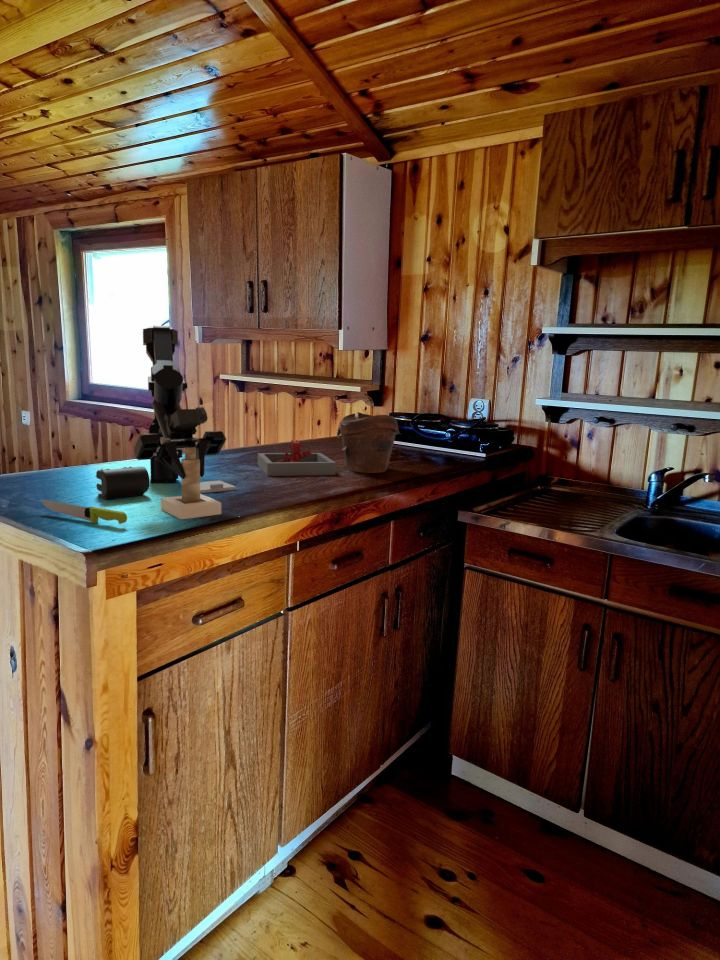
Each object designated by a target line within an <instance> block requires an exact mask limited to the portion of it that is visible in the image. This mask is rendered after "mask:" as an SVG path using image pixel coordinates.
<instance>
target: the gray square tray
mask: <svg viewBox="0 0 720 960" xmlns="http://www.w3.org/2000/svg"><path fill="white" fill-rule="evenodd" d="M311 453H312V454H310V455H308V456H306V457H303V458H301V459H300V460H301V461H302V462H277V461H279V460H284V459H285V453H284V452H283V453H282V452H274V453H273V452H266V453H265V452H264V453H263V452H257V466H258V467H259V468H260V470H262V472H263V473H264V474H265V475H266V476H267V477H275V476H276V477H278V476H280V477H284V476H285V477H286V476H287V477H288V476H289V477H291V476H293V477H294V476H336V471H337V462H335V461H334V460H333V459H331V458H329V457H328V456H326V455H324V454H323V453H321V452H311ZM287 456H288V458H289V457H291V452H288V455H287Z"/></svg>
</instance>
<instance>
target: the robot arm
mask: <svg viewBox="0 0 720 960" xmlns="http://www.w3.org/2000/svg"><path fill="white" fill-rule="evenodd" d="M142 345H143V346H145V353H146V355H147V357H148V358H149V360H150V361H151V363H152V366H151V367H150V376H148V377H147V390H148V393H151V397H152V398H153V400H152V404H151V405H152V409H153V415H154V417H153V421H152V422H151V424H150V425H149V427H148V433H140V434H139V436H138V437H137V440H136V442H135V446H134V449H133V452H134V456H135V459H136V460H138V461H143V460H150V463H149V464H150V465H149V467H150V476H149V480H150V484H151V483H152V484H155V483H158V484H159V483H177V481H178V479H179V478H180V479H181V478H182V479H184V478H185V472H184V469H183V466H182V464H181V458H183V450H185V448H186V447H195V448H196V459H200V478H204V475H205V457H206V456H216V455H218V454H220V452H221V450H222V449H223V447H224V444H225V443H226V441H227V437H226V435H225V433H224V432H223V431H222V430H208V431H206V430H205V432H204V434H203V436H202V437H200V438H199V437H194V436H193V435H196V434H197V431H198V430H197V427H198V426H201V425H203V424H205V423H206V422H207V421H208V419H209V418H208V414H207V411H206V409H205V407H201V406H200V407H198V406H197V407H195V408H183V409H182V405H181V401H182V398H183V394H184V393H185V391H186V389H188V382H186V381H185V378H184V377H183V375H182V374H181V370H180V367H178V366H177V365H176V364H175V363H174V354H175V352H176V347H178V346H179V332H178V330H176V329H174V328H173V327H170V326H169V325H152V326H148V327H146V328H143V329H142Z"/></svg>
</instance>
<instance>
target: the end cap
mask: <svg viewBox="0 0 720 960" xmlns="http://www.w3.org/2000/svg"><path fill="white" fill-rule="evenodd" d="M95 473H96V475H95V477H96V479H98V480H100V481H101V482H100V483H96V485H95V487H96V490H97V491H98V492H101V493H97V497H98V498H101V500H109V499H110V500H111V499H112V500H113V499H119V498H129V497H134V496H135V497H136V496H143V495H145V493H147V492H148V490H149V488H150V485H151V482H150V475H149V474H150V473H149V472H148V469H147V467H144V466H135V467H134V466H129V467H121V468H113V469H110V468H106V469H103V468H101V469H98V470H97V471H96V472H95Z"/></svg>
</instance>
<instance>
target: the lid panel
mask: <svg viewBox="0 0 720 960" xmlns="http://www.w3.org/2000/svg"><path fill="white" fill-rule="evenodd" d="M235 490H237V486H235V485H233V484H230V483H228V482H225V481H222V480H210V481H200V494H208V493H216V492H218V493H219V492H228V491H235Z"/></svg>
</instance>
